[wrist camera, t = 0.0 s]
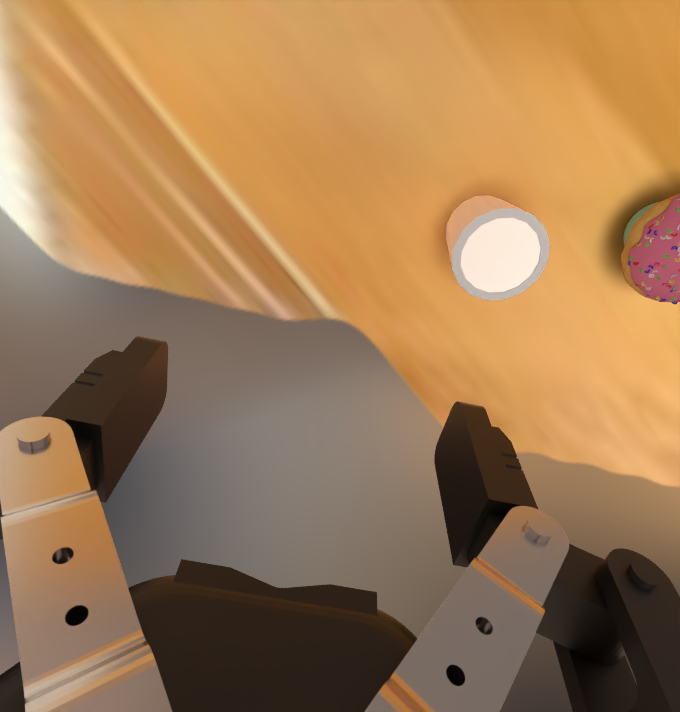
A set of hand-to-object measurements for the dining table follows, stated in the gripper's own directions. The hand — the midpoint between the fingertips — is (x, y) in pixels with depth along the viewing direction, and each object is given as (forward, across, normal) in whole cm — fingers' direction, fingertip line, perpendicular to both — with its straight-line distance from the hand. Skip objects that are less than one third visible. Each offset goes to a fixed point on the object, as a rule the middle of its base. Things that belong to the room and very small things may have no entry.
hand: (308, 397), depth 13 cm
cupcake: (+30, -26, -2) cm, 39 cm away
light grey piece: (+30, -12, +1) cm, 32 cm away
